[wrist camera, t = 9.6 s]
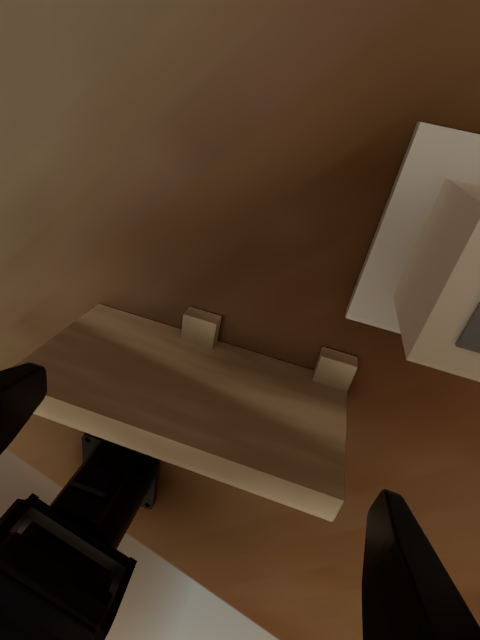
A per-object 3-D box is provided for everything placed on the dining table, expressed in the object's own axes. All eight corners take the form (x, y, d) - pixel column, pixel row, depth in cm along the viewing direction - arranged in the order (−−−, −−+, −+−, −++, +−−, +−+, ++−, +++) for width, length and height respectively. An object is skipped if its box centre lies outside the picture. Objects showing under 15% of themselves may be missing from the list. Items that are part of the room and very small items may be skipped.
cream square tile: (525, 362, 19) (531, 371, 18) (345, 311, 20) (345, 318, 19) (661, 173, 14) (677, 176, 13) (417, 121, 15) (420, 122, 15)
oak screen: (330, 420, 24) (320, 544, 17) (99, 344, 26) (7, 427, 19) (357, 357, 21) (359, 473, 14) (98, 278, 23) (-8, 347, 16)
